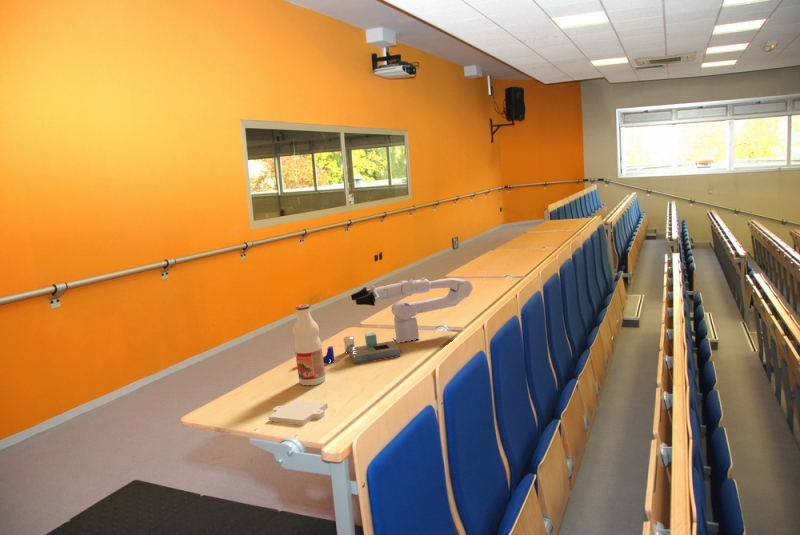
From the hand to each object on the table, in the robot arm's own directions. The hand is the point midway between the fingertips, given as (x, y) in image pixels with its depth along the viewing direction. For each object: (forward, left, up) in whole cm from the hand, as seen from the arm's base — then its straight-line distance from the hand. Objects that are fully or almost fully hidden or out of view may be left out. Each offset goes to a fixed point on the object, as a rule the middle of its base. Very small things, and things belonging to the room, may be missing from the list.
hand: (353, 299), depth 248 cm
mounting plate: (+29, +59, -21) cm, 69 cm away
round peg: (+4, +3, -21) cm, 21 cm away
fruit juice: (+22, +31, -21) cm, 43 cm away
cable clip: (+18, +10, -21) cm, 30 cm away
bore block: (-4, +14, -21) cm, 25 cm away
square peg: (-5, +3, -21) cm, 21 cm away
